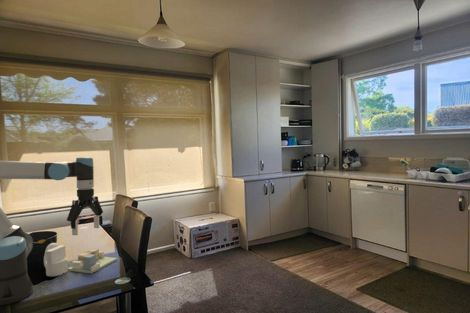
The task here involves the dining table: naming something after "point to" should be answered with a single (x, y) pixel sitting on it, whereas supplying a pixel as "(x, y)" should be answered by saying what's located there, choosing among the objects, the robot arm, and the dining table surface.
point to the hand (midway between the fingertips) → (86, 231)
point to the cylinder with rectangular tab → (56, 261)
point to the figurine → (49, 249)
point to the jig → (100, 263)
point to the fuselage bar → (93, 251)
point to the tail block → (89, 261)
